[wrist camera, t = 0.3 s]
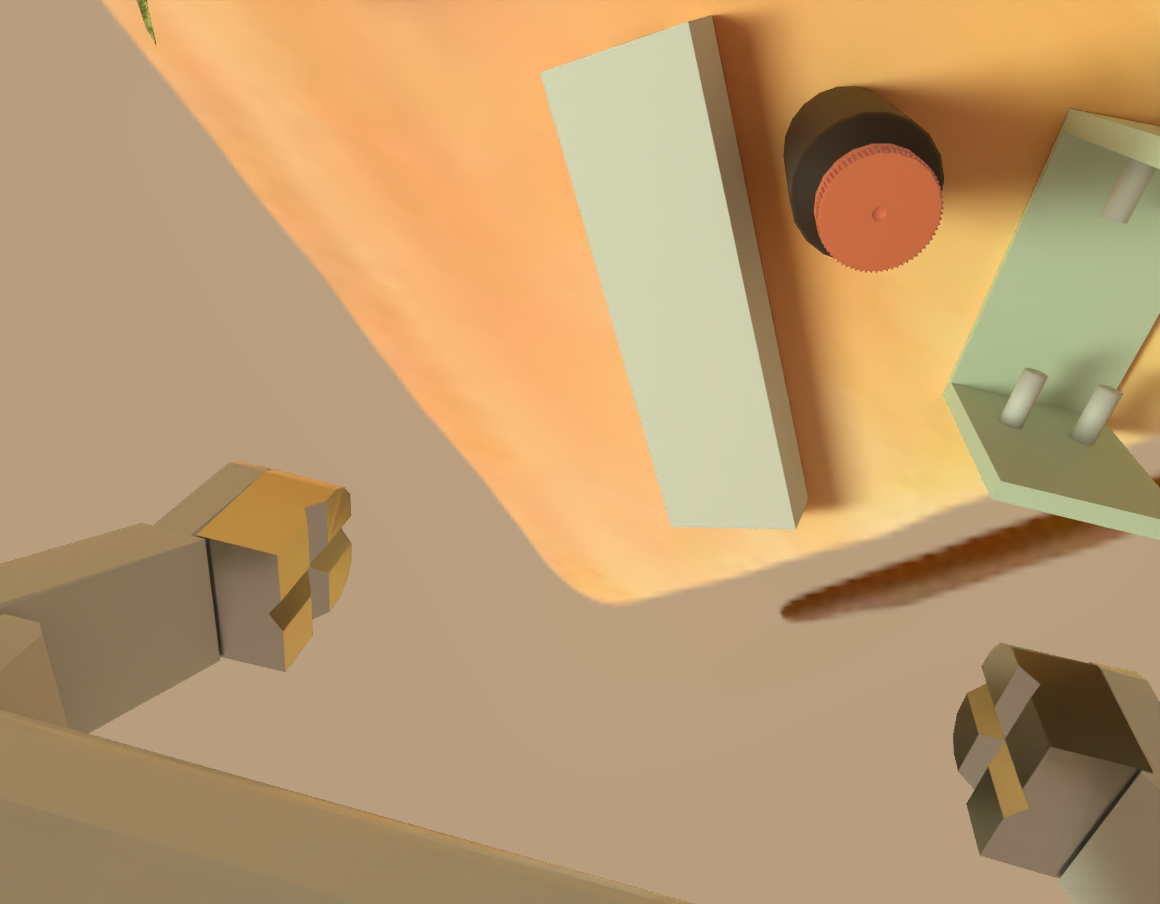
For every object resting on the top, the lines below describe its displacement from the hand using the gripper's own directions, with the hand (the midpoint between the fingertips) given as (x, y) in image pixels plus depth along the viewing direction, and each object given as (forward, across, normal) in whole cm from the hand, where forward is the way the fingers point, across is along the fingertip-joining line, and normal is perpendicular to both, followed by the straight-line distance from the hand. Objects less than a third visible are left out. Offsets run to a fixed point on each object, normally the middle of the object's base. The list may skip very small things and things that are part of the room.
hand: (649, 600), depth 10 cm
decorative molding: (+48, +1, +12) cm, 49 cm away
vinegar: (+47, -6, 0) cm, 47 cm away
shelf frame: (+47, -23, +6) cm, 53 cm away
